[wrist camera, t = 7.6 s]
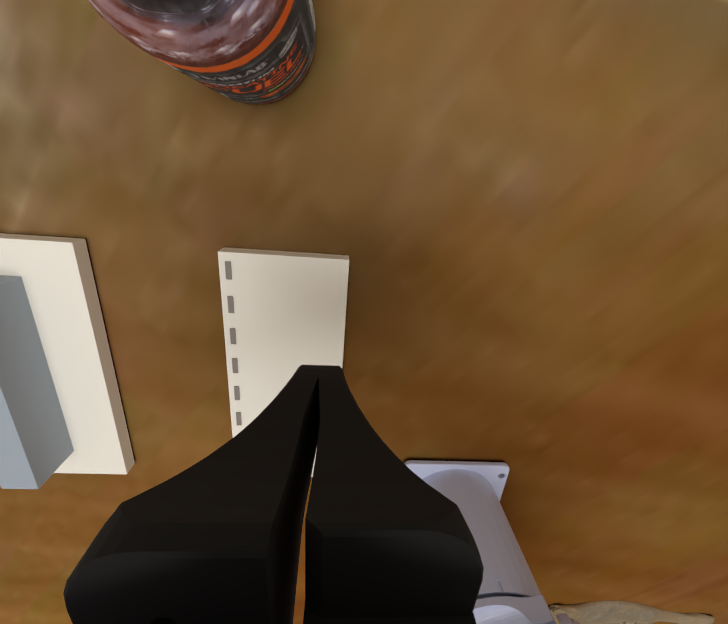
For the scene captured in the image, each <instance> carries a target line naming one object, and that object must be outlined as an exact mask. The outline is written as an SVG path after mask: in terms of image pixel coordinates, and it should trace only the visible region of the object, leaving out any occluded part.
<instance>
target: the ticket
mask: <svg viewBox="0 0 728 624" xmlns="http://www.w3.org/2000/svg"><path fill="white" fill-rule="evenodd" d="M218 260H219V272H220V285H221V297H222V310H223V322H224V335H225V347H226V360H227V372H228V385H229V397H230V410H231V422H232V434H233V438H234V437H235V436H236V435H237V434H238V433H240V432H241V431H242V430H243V429H244V428H245V427H247V426H248V425H249V424H250V423H251V422H252V421H253V420H254V419H255V418H256V417H257V416H258V415H259V414H260V413H261V412H262V411H263V410H264V409H265V408H266V407H267V406H268V405H269V404H270V403H271V402H272V401H273V400H274V398H275V397H276V396H277V395H278V394H279V392H280V391H281V390H282V389H283V388H284V387H285V385H286V384H287V383H288V381H289V380H290V379H291V377H292V376H293V375H294V373H295V372H296V370H297V369H298V367H299V366H301V365H331V366H340V367H341V368H342V366H343V350H344V334H345V319H346V303H347V287H348V272H349V255H335V254H320V253H304V252H289V251H274V250H258V249H243V248H227V247H223V248H222V249H221V250H219V251H218ZM316 450H317V449H316ZM315 458H316V454H315ZM314 465H315V459H314V464H313V469H312V475H311V477H313V471H314Z"/></svg>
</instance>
